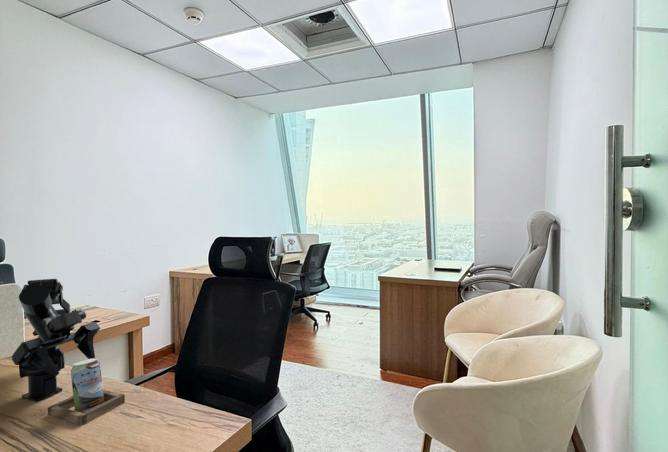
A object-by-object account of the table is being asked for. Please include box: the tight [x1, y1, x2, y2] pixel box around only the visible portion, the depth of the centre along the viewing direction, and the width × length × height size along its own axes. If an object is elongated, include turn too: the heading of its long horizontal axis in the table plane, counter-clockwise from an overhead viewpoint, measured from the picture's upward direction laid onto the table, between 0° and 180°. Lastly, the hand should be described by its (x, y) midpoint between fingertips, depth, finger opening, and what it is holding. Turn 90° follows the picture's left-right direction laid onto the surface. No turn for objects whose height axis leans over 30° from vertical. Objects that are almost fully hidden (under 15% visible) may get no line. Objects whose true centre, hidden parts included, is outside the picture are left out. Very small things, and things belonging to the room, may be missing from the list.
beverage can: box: [70, 357, 105, 413], centre depth 88 cm, size 6×7×12 cm
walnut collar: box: [47, 389, 126, 426], centre depth 87 cm, size 12×11×2 cm
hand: (76, 367), depth 89 cm, fingers open, 9 cm apart
